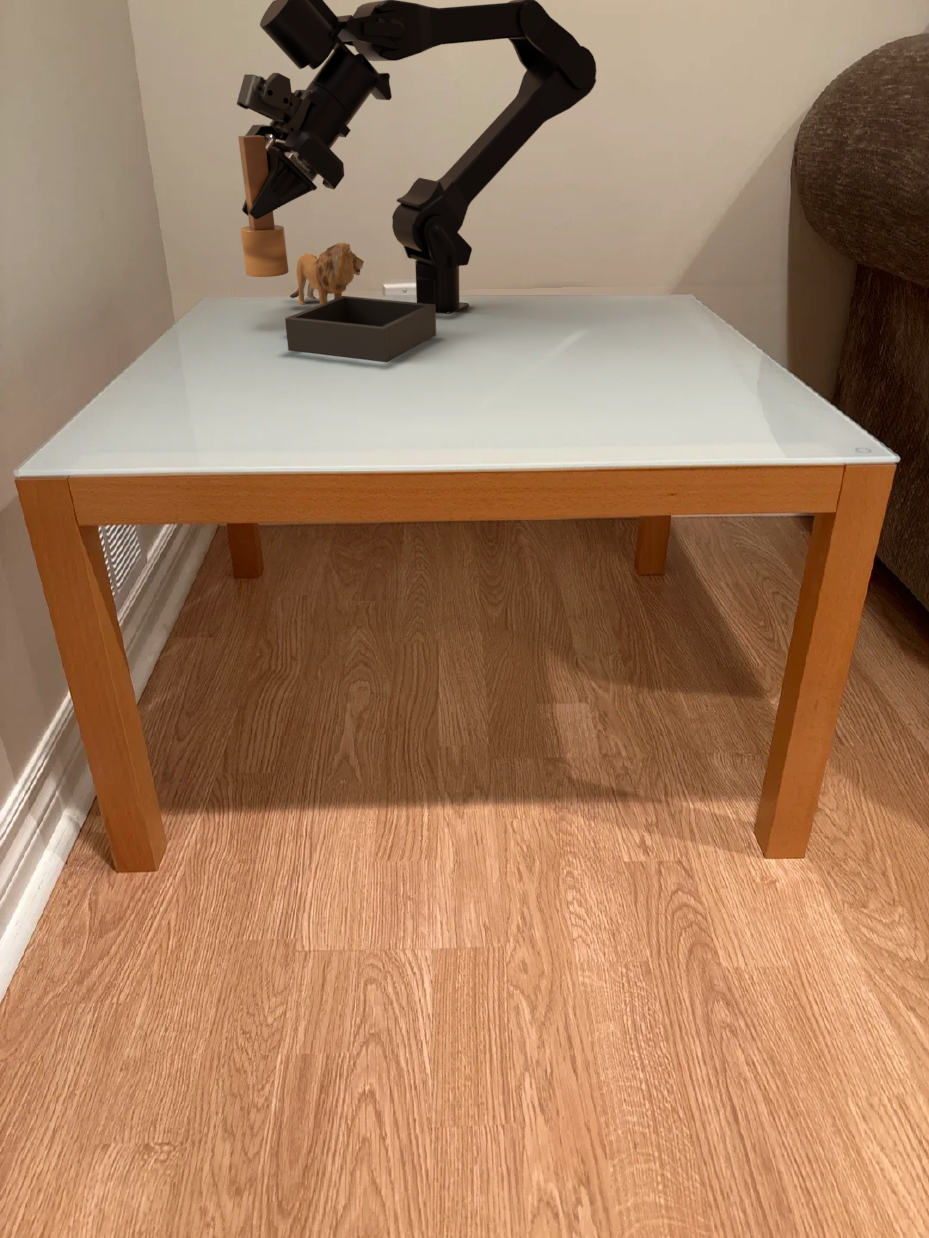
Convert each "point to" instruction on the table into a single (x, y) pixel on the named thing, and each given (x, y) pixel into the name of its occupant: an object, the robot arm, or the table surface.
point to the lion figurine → (327, 272)
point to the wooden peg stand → (261, 235)
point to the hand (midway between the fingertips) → (248, 215)
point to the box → (361, 328)
